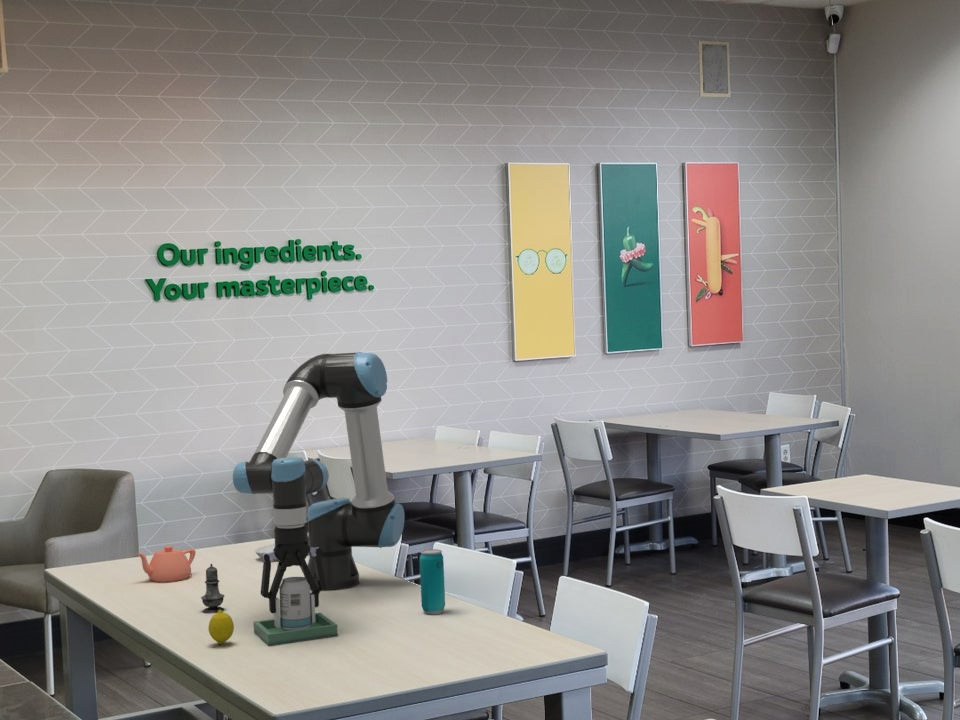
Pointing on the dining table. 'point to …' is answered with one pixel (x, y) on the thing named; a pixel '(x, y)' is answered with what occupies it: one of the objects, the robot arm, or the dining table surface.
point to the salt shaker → (212, 592)
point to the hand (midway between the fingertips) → (295, 624)
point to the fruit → (221, 627)
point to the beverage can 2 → (432, 581)
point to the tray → (295, 631)
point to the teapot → (168, 564)
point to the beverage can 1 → (295, 604)
